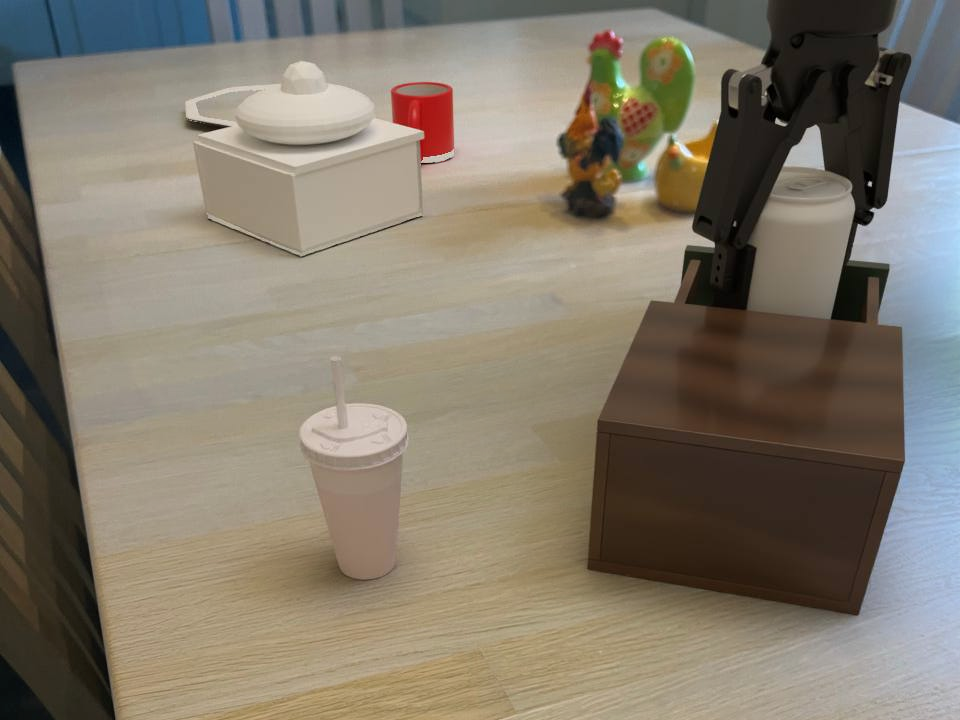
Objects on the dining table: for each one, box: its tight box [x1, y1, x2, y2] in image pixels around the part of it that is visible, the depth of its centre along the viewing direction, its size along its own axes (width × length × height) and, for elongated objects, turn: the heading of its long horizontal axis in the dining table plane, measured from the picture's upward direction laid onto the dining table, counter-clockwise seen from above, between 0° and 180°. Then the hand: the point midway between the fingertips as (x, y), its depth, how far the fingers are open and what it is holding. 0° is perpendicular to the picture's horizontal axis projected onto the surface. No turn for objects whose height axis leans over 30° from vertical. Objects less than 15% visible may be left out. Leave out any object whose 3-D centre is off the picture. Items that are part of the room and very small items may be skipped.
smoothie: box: [298, 355, 410, 581], centre depth 61 cm, size 6×6×14 cm
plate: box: [184, 83, 282, 128], centre depth 150 cm, size 24×24×2 cm
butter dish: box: [192, 60, 424, 253], centre depth 110 cm, size 18×18×16 cm
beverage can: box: [733, 165, 855, 319], centre depth 72 cm, size 8×8×12 cm
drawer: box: [673, 244, 891, 324], centre depth 78 cm, size 22×15×9 cm
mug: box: [390, 81, 455, 161], centre depth 129 cm, size 8×12×8 cm, turn 176°
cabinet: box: [586, 300, 906, 616], centre depth 65 cm, size 18×17×11 cm
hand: (772, 320), depth 75 cm, fingers closed on beverage can, 8 cm apart
